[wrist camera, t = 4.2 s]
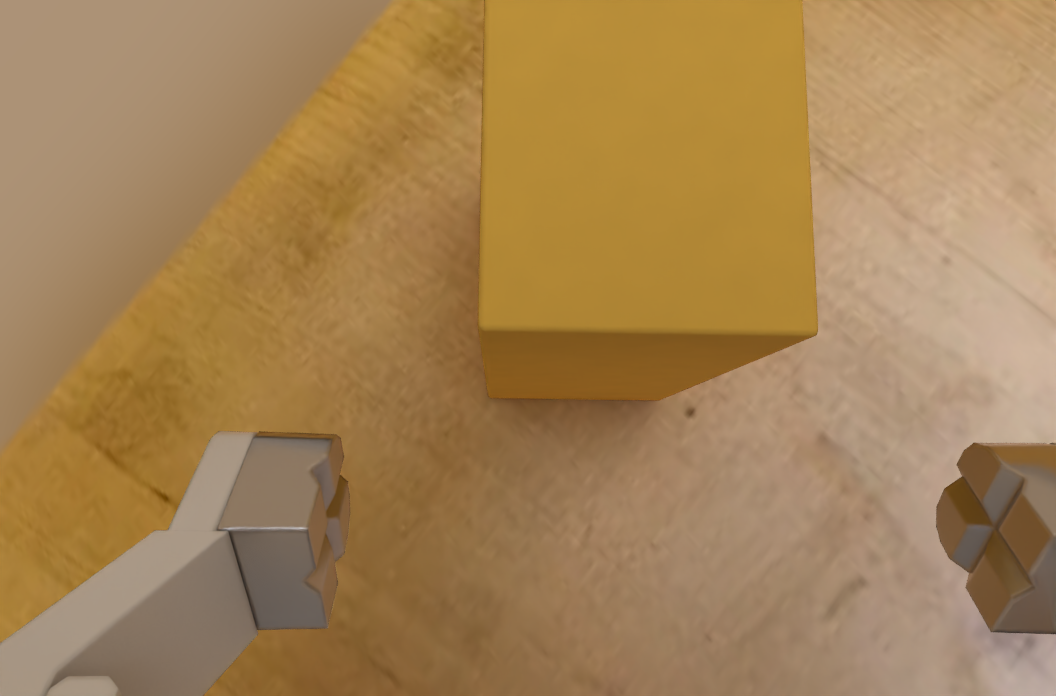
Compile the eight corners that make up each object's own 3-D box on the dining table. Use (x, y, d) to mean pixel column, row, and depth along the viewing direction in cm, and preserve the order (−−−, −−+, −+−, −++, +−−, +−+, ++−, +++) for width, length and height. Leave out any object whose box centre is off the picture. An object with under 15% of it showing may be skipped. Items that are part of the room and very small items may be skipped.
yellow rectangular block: (487, 398, 20) (477, 330, 10) (491, 175, 21) (486, -90, 11) (661, 400, 20) (820, 336, 10) (658, 179, 21) (801, -78, 11)
